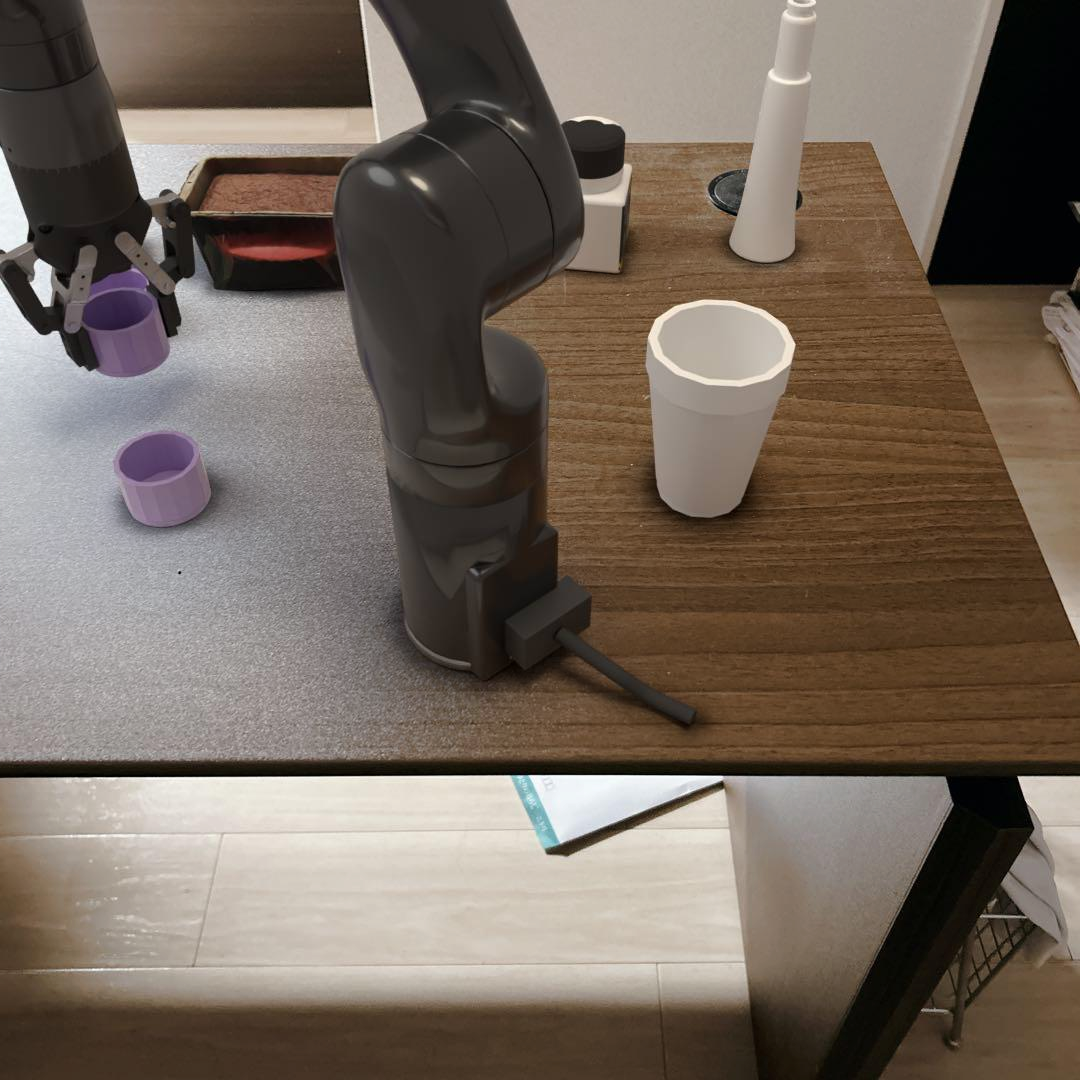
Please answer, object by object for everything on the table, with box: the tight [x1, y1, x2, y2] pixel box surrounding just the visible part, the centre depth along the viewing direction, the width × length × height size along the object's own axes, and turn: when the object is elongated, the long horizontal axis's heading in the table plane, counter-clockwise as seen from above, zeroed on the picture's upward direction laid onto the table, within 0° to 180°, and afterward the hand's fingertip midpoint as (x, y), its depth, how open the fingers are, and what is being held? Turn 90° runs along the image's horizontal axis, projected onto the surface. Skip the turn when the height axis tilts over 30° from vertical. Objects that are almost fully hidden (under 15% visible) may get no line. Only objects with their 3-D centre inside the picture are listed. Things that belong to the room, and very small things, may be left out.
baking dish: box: [177, 153, 358, 291], centre depth 101 cm, size 14×18×10 cm
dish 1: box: [89, 268, 149, 297], centre depth 94 cm, size 6×6×4 cm
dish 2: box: [81, 287, 171, 379], centre depth 84 cm, size 6×6×4 cm
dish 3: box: [112, 429, 212, 528], centre depth 80 cm, size 6×6×4 cm
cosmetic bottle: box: [728, 0, 818, 264], centre depth 97 cm, size 6×6×22 cm
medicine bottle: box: [560, 115, 633, 274], centre depth 100 cm, size 7×7×12 cm
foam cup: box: [644, 299, 796, 519], centre depth 78 cm, size 10×9×13 cm
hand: (129, 347), depth 85 cm, fingers closed on dish 2, 6 cm apart
